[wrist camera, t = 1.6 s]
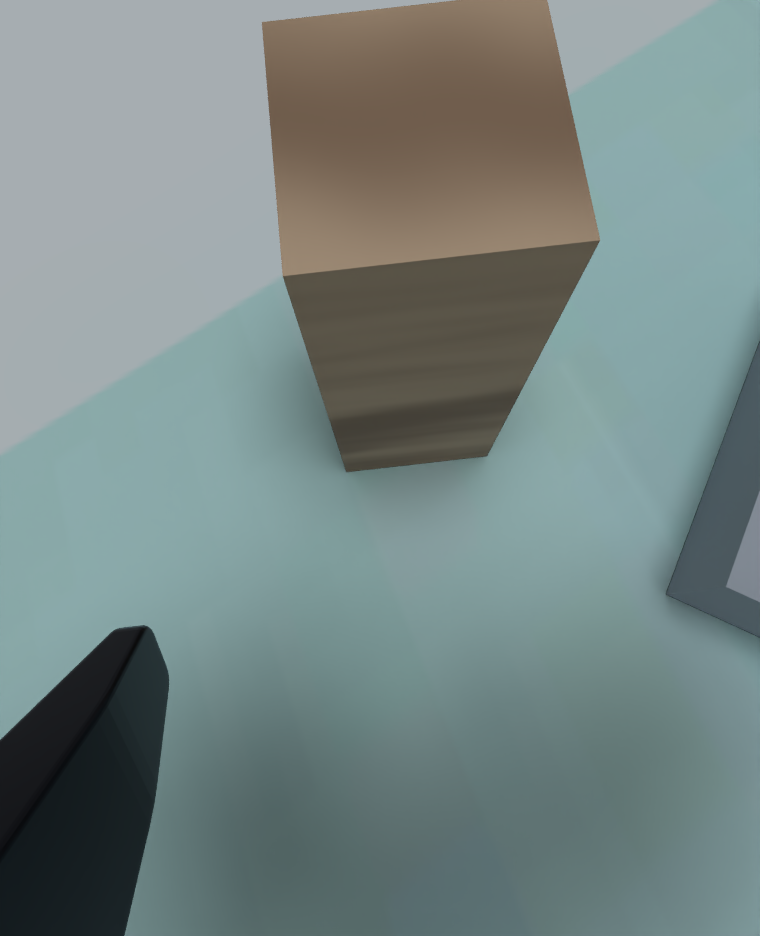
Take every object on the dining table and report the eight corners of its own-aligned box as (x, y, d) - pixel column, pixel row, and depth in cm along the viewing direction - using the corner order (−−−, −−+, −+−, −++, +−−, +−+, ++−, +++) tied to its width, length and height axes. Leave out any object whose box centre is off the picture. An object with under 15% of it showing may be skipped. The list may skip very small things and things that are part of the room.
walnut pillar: (486, 455, 23) (600, 240, 10) (346, 472, 23) (282, 275, 10) (466, 327, 24) (545, -11, 11) (333, 342, 24) (262, 22, 11)
